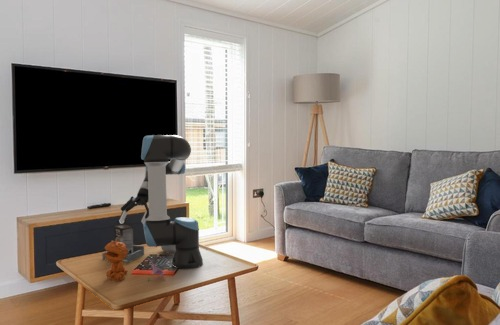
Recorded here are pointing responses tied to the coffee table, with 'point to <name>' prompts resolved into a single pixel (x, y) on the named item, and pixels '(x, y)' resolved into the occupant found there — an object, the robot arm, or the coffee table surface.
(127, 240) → the coffee box
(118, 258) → the orange figurine
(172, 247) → the teacup
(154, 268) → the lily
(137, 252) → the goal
